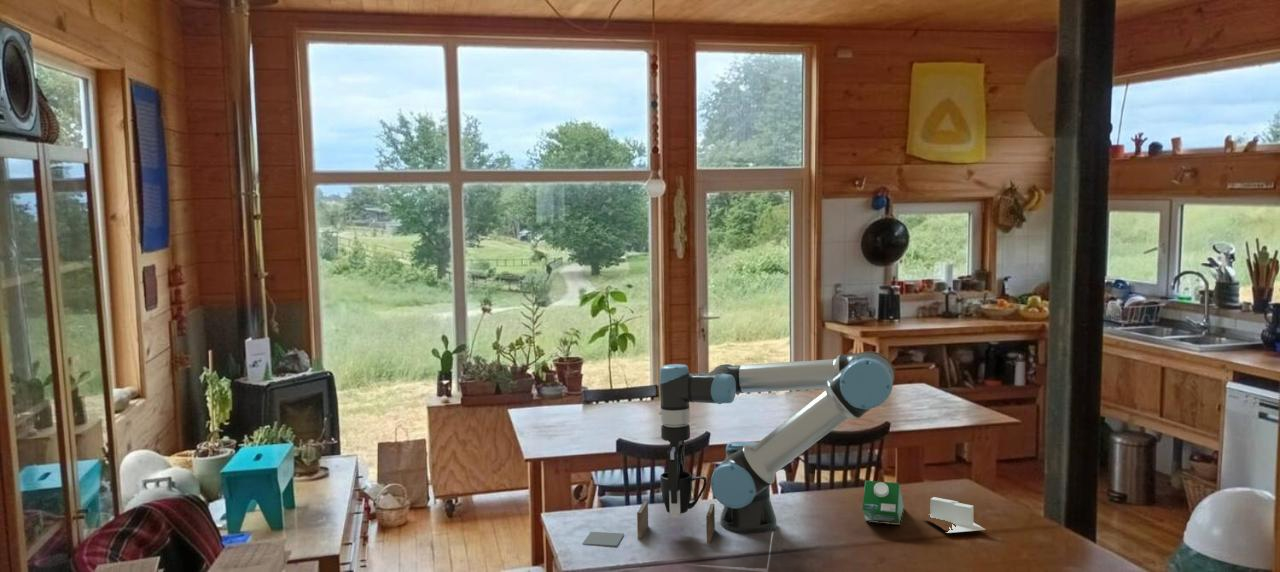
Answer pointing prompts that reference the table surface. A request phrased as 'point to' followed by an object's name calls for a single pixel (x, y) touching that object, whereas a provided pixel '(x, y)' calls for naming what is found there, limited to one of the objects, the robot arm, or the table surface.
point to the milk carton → (882, 502)
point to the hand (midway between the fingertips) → (677, 509)
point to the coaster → (603, 539)
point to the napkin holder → (954, 514)
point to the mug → (681, 490)
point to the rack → (643, 521)
